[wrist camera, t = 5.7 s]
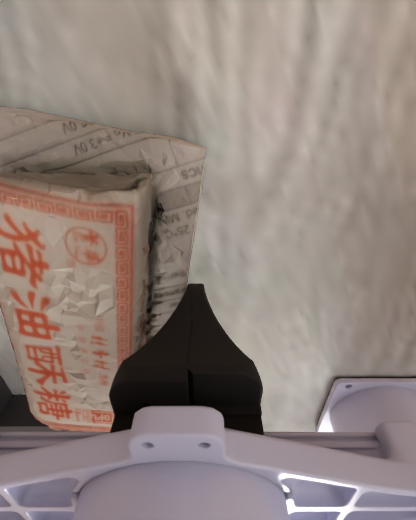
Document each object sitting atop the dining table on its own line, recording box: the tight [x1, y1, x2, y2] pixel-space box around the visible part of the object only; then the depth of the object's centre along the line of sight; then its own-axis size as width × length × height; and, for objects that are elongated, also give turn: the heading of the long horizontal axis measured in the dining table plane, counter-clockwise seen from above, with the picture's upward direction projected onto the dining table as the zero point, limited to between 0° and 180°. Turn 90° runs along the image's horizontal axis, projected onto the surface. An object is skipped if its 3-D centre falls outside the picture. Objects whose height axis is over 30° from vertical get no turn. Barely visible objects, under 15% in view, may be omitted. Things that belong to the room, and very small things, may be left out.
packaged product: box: [0, 107, 206, 432], centre depth 15 cm, size 18×5×10 cm
